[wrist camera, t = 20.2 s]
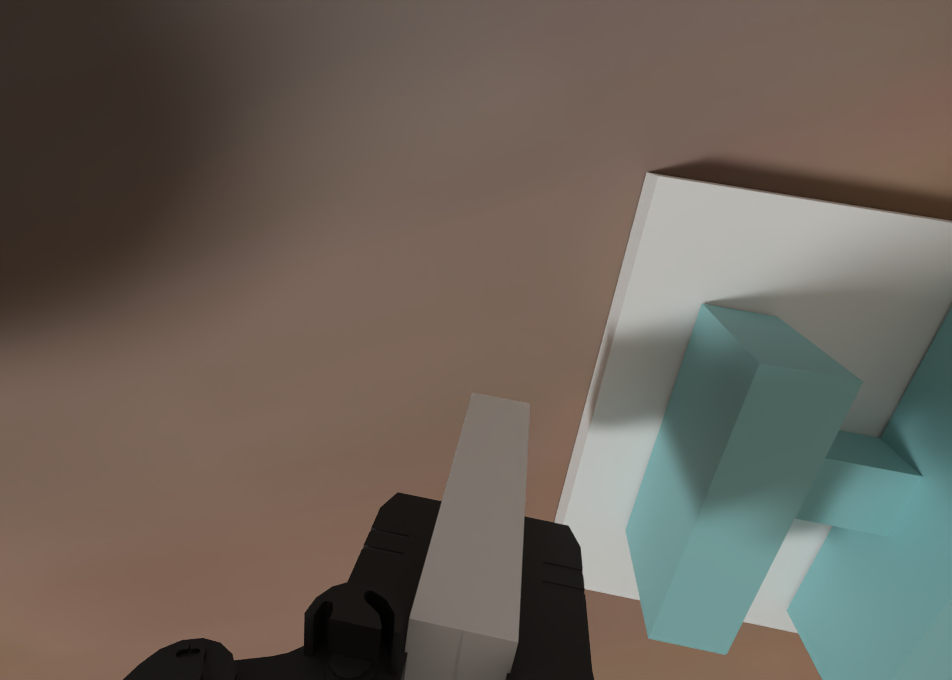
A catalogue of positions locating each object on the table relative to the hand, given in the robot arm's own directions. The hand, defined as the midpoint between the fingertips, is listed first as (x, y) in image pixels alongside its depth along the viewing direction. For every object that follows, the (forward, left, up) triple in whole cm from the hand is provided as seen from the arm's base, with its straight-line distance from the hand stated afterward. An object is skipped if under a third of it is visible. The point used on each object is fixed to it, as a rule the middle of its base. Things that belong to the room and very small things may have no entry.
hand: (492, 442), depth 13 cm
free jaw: (+5, +8, -2) cm, 9 cm away
